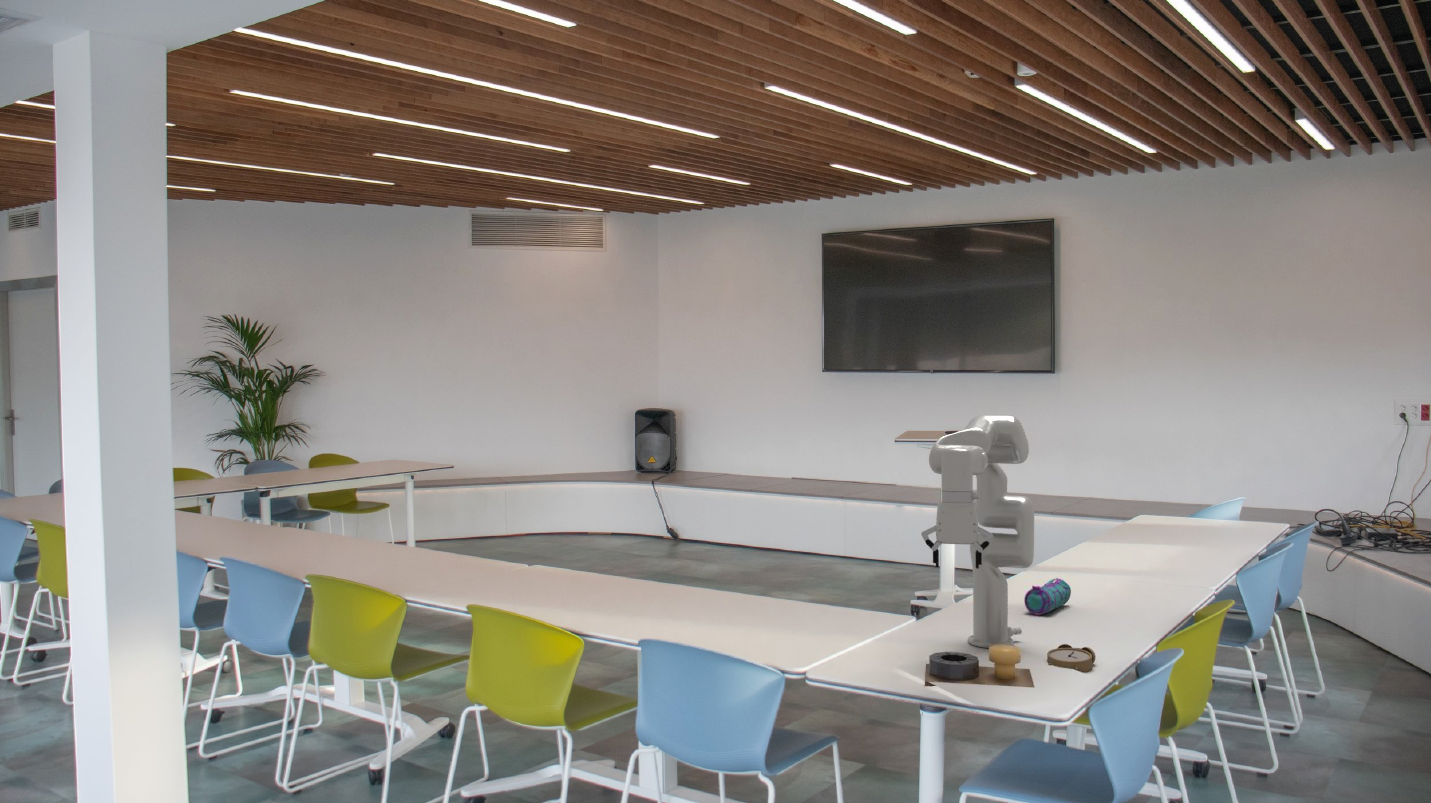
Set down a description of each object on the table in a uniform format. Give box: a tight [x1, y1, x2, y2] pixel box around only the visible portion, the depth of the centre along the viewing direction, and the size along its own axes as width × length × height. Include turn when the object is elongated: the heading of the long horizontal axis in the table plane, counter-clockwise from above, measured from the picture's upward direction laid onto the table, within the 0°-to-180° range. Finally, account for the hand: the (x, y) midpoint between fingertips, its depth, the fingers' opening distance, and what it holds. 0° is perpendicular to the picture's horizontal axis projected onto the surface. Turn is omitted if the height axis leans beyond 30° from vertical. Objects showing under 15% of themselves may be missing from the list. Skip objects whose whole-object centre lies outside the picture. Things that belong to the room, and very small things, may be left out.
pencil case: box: [1023, 577, 1072, 616], centre depth 339 cm, size 21×9×10 cm, turn 144°
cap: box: [988, 645, 1022, 679], centre depth 261 cm, size 8×8×7 cm
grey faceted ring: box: [928, 651, 980, 681], centre depth 263 cm, size 12×12×4 cm
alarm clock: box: [1046, 643, 1097, 673], centre depth 274 cm, size 11×5×15 cm
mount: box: [924, 663, 1035, 688], centre depth 262 cm, size 26×16×1 cm, turn 77°
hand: (957, 566), depth 257 cm, fingers open, 9 cm apart
